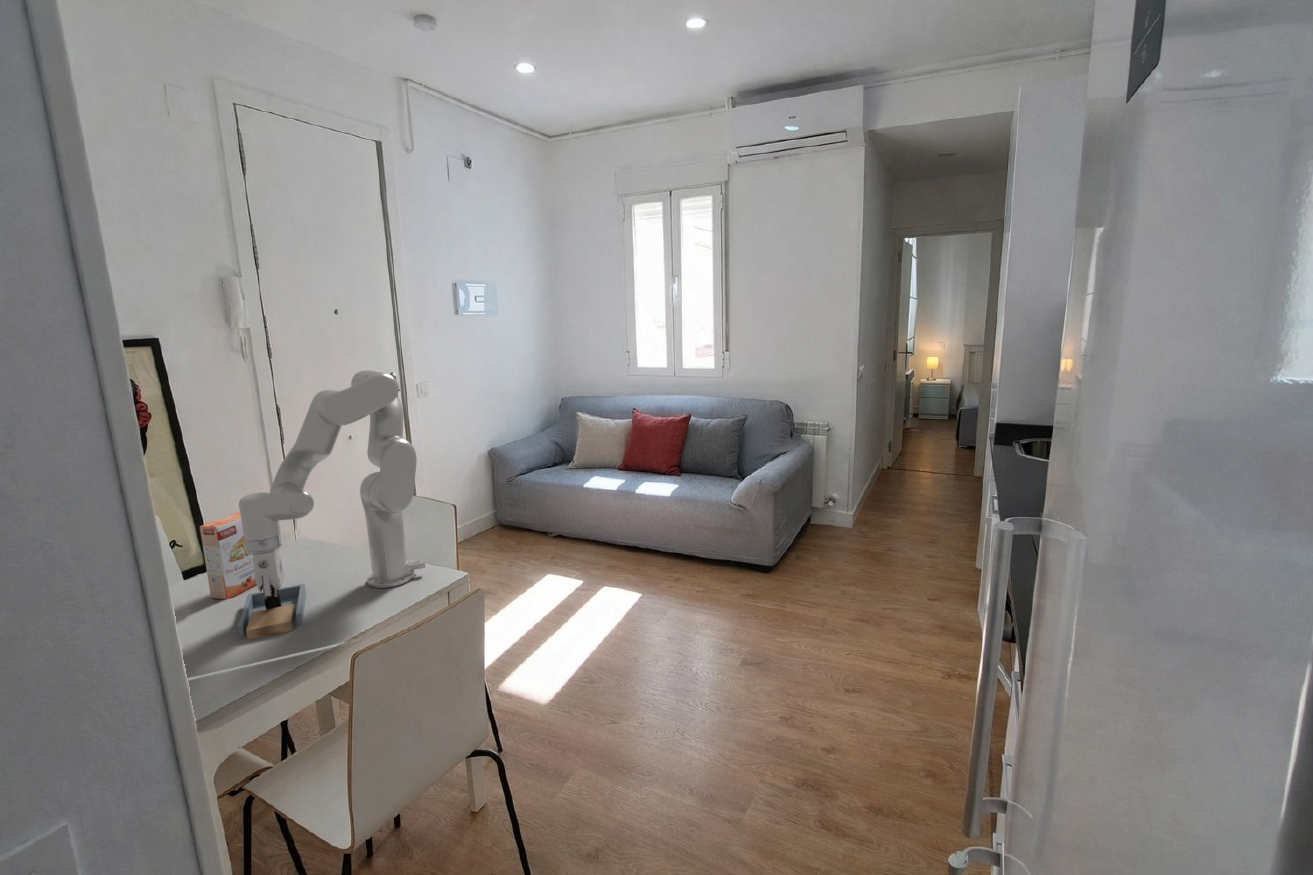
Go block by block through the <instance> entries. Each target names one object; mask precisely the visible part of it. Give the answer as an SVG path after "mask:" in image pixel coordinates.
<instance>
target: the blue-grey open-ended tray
mask: <svg viewBox="0 0 1313 875" xmlns="http://www.w3.org/2000/svg"><path fill="white" fill-rule="evenodd" d="M278 590H279V593H278V594H280V599H281V606H286V605H291V604H294V609H295V617H294V622H293V627H292V628H294V627H298V626H303V624H304V623H303V622H304V615H305V607H306V606H305V605H306V597H307V592H306V591H307V590H306V585H305V583H302V584H301V583H300V584H295V585H290V586H284V587H280V588H279V589H278ZM260 610H266V607H265V601H264V593H263V590H262V591H261V592H260V591H257V592H253V593H248V594H247V595H246V599H245V602H244V605H243V608H242V611H241V613H240V617H239V619H238V622H237V627H236V628H237V631H238V637H239V638H238V639H241V638H247V633H246V629H247V626H248V623H249V620H250V617H251V614H252V612H255V611H260Z"/></svg>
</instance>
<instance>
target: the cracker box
mask: <svg viewBox="0 0 1313 875" xmlns="http://www.w3.org/2000/svg"><path fill="white" fill-rule="evenodd" d="M199 531H200V537H201V542H202V549H203V556H204V561H205V567H206V568H205V569H206V574H207V581H208V585H209V587H208V588H209V592H210V597H211V599H214V600H215V599H216V600H229V599H232V598H235V597H236V596H237V595H240V594H241V593H244V592H245V591H247V590H250V589H251V588H253V587H256V586H257V583H256V578H255V571H254V564H253V557H252V554H249V553H247V552H246V546H245V540H244V534H243V528H242V521H241V515H240V511H238V512H235V513H232V514H230V515H228V516H224V517H222V518H219V519H216V520H214V521H211V522H208V523H206V524H202V525H200V526H199Z"/></svg>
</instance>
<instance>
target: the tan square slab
mask: <svg viewBox="0 0 1313 875" xmlns="http://www.w3.org/2000/svg"><path fill="white" fill-rule="evenodd" d="M294 617H295V609H294V604H291V605H286V606H281V607H276V608H271V609H266V610H260V611H255V612H252V614H251V617H250V620H249V623H248V626H247V629H246V633H247V637H246V638H247V641H250V640H255V639H259V638H260V639H261V638H264V637H269V636H274V635H278V634H283V633H288V632H292V631H293V628H294V627H293V622H294Z"/></svg>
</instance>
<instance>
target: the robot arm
mask: <svg viewBox="0 0 1313 875" xmlns="http://www.w3.org/2000/svg"><path fill="white" fill-rule="evenodd" d="M350 384H351V385H350V386H349V387H347V388H345V389H341V390H333V389H325V390H321V391H319V392H317V393H316V394H315V395H314V397H312V400H311V402H310V405H309V407H308V410H307V413H306V415H305V418H304V421H303V423H302V426H301V428H300V429H299V430H300V431H299V433H298V435H297V438H296V441H295V442H294V444H293V446H292V448H290V450H289V452H288V453H287V454H286V457H285V458H283V461H282V462H281V464H280V466H279V467H278V469H277V472H276V475H275V476H274V480H273V482H272V485H271V487H270V490H269V492H253V493H250V494H247V495H244V496H243V497H241V498H240V499H239V501H238V508H239V512H240V515H241V521H242V528H243V534H244V540H245V546H246V552H247V553H249V554H252V557H253V564H254V571H255V578H256V583H257V585H256V587H257V592H262V591H263V593H264V601H265V607H266V609H271V608H276V607H281V599H280V594H278V593H279V590H278V589H279V588H282V586H283V582H284V577H285V570H284V567H283V562H282V557H281V552H280V551H281V550H280V548H281V547H282V545H283V542H282V535H281V530H280V523H279V521H280V522H281V521H288V520H289V521H290V520H298V519H303V518H304V517H306V516H308V515H309V514H310V513H311V512H312V511H313V509H314V506H315V500H314V498H313V496H312V495H311V493H309V492H307V491H306V490H304V488H305V486H306V482H307V480H308V478H309V476H310V474H311V472H312V471H313V470H314V468H315V467H316V466H317V465H318V464H319V463H321V462H323V461H324V460H326V459H328V457H330V455H331V454H332V452H333V450H334V447H335V444H336V442H337V438H338V436H339V433H340V430H341V428H342V427H343V426H348V425H351V424H352V423H355V422H357V421H360V420H362V419H363V418H366V417H367V416H369V430H368V432H369V434H368V442H367V450H366V452H367V459H368V461H369V462H370V463H371V465H373V466H375V467H377V468H379V471H375V472H371V473H369V474H368V475H366V476H365V477H364V478H363V480H362V482H361V483H360V487H359V496H360V501H361V504H362V507H363V511H364V515H365V516H364V517H365V522H366V531H367V540H368V541H367V542H368V548H369V557H370V564H371V574H369V575H368V577H367V578H366V582H367V585H368V586H370V587H372V588H375V589H376V588H377V589H379V588H380V589H382V588H383V589H384V588H393V587H397V586H400V585H403V584H407V583H409V581H411V580H412V579H413V578H414V577H415V570H422V569H425V568H426V563H425V561H420V560H413V561H412V560H409V558H408V555H407V545H406V544H407V543H406V535H405V527H404V526H405V524H404V517H403V516H404V515H403V511H405V510H406V509H407V508H408V507H409V506H410V504H411V503H412V501H413V496H414V492H415V483H416V475H417V474H416V473H417V461H418V460H417V458H418V457H417V453H416V450H415V448H414V446H413V444H412V443H411V442H410V441H409V440H407V439H404V437H403V434H404V409H403V405H402V403H401V401H400V398H399V396H398V394H399V391H400V388H399V384H398V381H397V380H396V378H395V377H394V376H392V375H390V374H388V373H387V372H384V371H383V372H382V371H381V372H380V371H375V370H370V369H369V370H366V369H365V370H361V371H358V372H356V373H354V376H352V378H351V382H350Z"/></svg>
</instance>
